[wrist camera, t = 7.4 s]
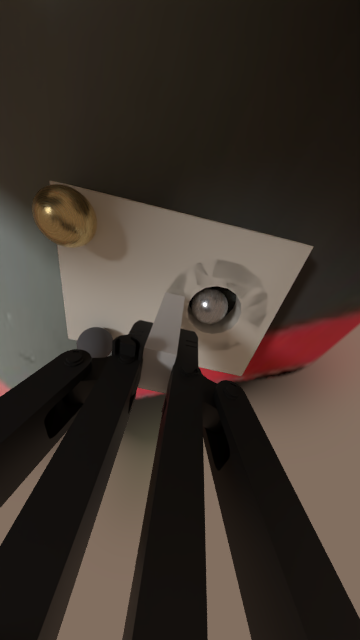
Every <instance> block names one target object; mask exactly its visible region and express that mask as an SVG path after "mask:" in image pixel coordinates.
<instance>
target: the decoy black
mask: <svg viewBox="0 0 360 640" xmlns="http://www.w3.org/2000/svg"><path fill="white" fill-rule="evenodd" d="M112 341H113V337H112V335H111V334H110V333H109V332H108V331H107V330H106V329H103V328H100V327H92V328H89V329H86V330H85V331H83V332H82V333H81V334H80V336H79V338H78V340H77V349H81V350H85V351H87V352H88V353H90V355H91V357H92V358H102V357H107V356H108V355H109V354H110V353H111V351H112Z"/></svg>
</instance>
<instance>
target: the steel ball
mask: <svg viewBox="0 0 360 640" xmlns="http://www.w3.org/2000/svg"><path fill="white" fill-rule="evenodd" d="M227 310H228V302H227V299H226V297H225V295H224V294H223V293H222V292H221V291H219V290H217V289H214V288H205V289H202V290H201V291H199V292H198V293H197V294H196V295H195V296H194V298H193V300H192V312H193V314H194V316H195V317H196V319H198V320H199V321H200V322H202V323H205V324H214V323H217V322H219V321H220V320H222V319H223V318H224V316H225V315H226V313H227Z"/></svg>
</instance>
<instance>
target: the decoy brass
mask: <svg viewBox="0 0 360 640" xmlns="http://www.w3.org/2000/svg"><path fill="white" fill-rule="evenodd" d="M32 213H33V217H34V220H35V223H36V225H37V226H38V228H39V229H40V231H41V232H42V233H43V234H44V235H45V236H46V237H47V238H48V239H50V240H51V241H52V242H54V243H56V244H58V245H61V246H64V247H69V248H77V247H81V246H84V245H86V244H88V243H89V242H90V241H91V240H92V239H93V237H94V236H95V234H96V231H97V217H96V214H95V211H94V209H93V207H92V205H91V204H90V202H89V201H88V200H87V198H86V197H85V196H84V195H82V194H81V193H80V192H78V191H77V190H75V189H73V188H71V187H69V186H66V185H61V184H53V185H48V186H45V187H44V188H42V189H40V190H39V191H38V192H37V194H36V195H35V197H34V199H33V203H32Z"/></svg>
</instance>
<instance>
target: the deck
mask: <svg viewBox="0 0 360 640" xmlns="http://www.w3.org/2000/svg"><path fill="white" fill-rule="evenodd" d="M49 181H50V180H49ZM53 184H61V185H66V186H69V187H71V188H73V189H75V190H77V191H78V192H80V193H81V194H82V195H84V196H85V197H86V198H87V200H88V201H89V202H90V204H91V205H92V207H93V209H94V211H95V214H96V217H97V231H96V234H95V236H94V237H93V239H92V240H91V241H90V242H89V243H88V244H86V245H84V246H81V247H77V248H69V247H64V246H61V245H58V244H57V248H58V256H59V265H60V273H61V281H62V290H63V298H64V306H65V315H66V323H67V332H68V339H73V340H78V338H79V336H80V334H81V333H82V332H83V331H85V330H86V329H89V328H92V327H100V328H103V329H106V330H107V331H108V332H109V333H110V334H111V335H112V337H113V340H114V339H115V338H116V337H118V336H121V335H128V334H129V332H130V330H131V328H132V326H133V325H134V323H136V322H137V321H139V320H143V321H147V322H152V323H154V321H155V318H156V315H157V313H158V310H159V308H160V305H161V302H162V300H163V297H164V295H165V292H167V293H171V294H176V295H180V296H184V297H185V300H184V307H183V314H182V321H181V329H185V330H190V331H194V332H195V333H196V334H197V336H198V367H201V368H206V369H211V370H215V371H220V372H224V373H229V374H234V375H238V376H242V374H243V373H244V371H245V369H246V367H247V365H248V364H249V362H250V360H251V358H252V356H253V355H254V353H255V351H256V349H257V347H258V346H259V344H260V342H261V340H262V338H263V337H264V335H265V333H266V331H267V330H268V328H269V326H270V324H271V322H272V321H273V319H274V317H275V315H276V313H277V312H278V310H279V308H280V306H281V304H282V303H283V301H284V299H285V297H286V295H287V294H288V292H289V290H290V288H291V286H292V285H293V283H294V281H295V279H296V277H297V276H298V274H299V272H300V270H301V268H302V267H303V265H304V263H305V261H306V259H307V258H308V256H309V254H310V252H311V250H312V249H313V246H310V245H307V244H303V243H300V242H297V241H293V240H289V239H285V238H281V237H277V236H273V235H269V234H265V233H261V232H257V231H253V230H249V229H245V228H241V227H237V226H233V225H229V224H225V223H221V222H217V221H213V220H210V219H206V218H202V217H198V216H194V215H190V214H186V213H182V212H178V211H174V210H170V209H166V208H162V207H158V206H154V205H150V204H146V203H142V202H138V201H134V200H130V199H126V198H122V197H118V196H114V195H110V194H106V193H102V192H98V191H94V190H90V189H86V188H82V187H78V186H74V185H70V184H65V183H60V182H55V181H50V185H53ZM214 286H219V287H223V288H227V289H229V290H231V291H232V292H233V293H235V294H236V302H235V305H234V307H233V309H232V310H231V311H230V312H229V313H228V314H227V315H226V316H224V318H223V319H222V320H220V321H219V322H217V323H214V324H205V323H202V322H200V321H199V320H198V319H196V317H195V316H194V314H193V312H192V310H191V308H190V306H189V301H190V300H191V299H192V297H193V296H194V295H195V294H196V293H197V292H199V291H201V290H202V289H204V288H207V287H214Z"/></svg>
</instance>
